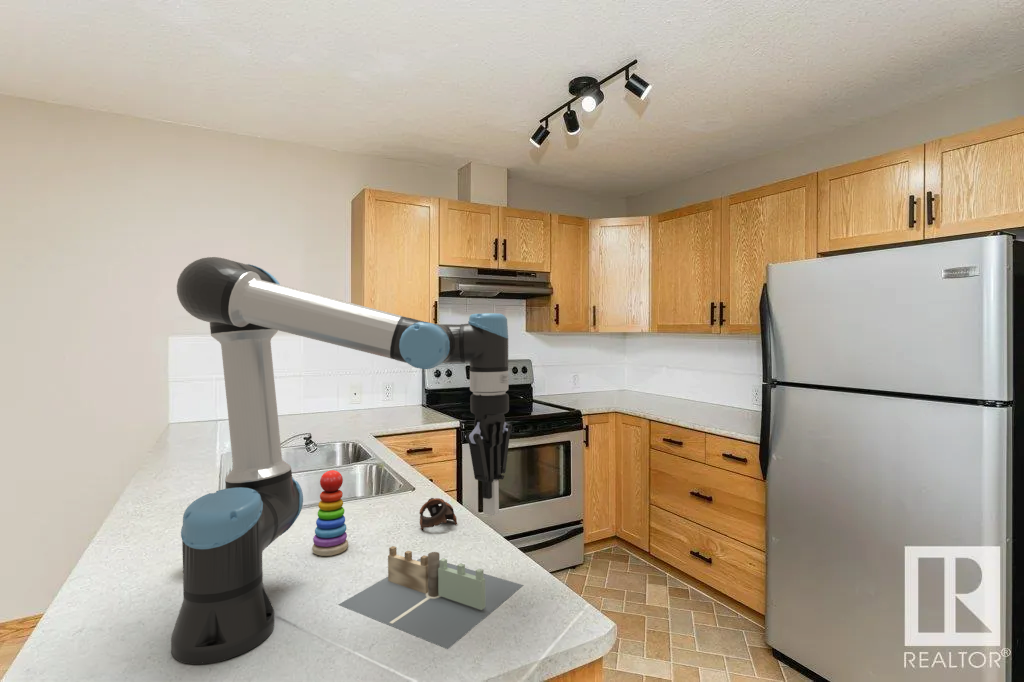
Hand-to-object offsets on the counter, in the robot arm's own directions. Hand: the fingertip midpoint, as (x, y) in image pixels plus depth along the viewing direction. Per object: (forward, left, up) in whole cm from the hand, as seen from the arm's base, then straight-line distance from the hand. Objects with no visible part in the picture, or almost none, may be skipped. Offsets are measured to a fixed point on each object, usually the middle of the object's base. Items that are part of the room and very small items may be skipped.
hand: (491, 513), depth 100 cm
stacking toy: (-3, +44, -16) cm, 47 cm away
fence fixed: (-7, +14, -15) cm, 22 cm away
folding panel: (-7, +2, -15) cm, 16 cm away
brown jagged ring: (+22, +32, -16) cm, 42 cm away
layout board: (-7, +9, -16) cm, 19 cm away
